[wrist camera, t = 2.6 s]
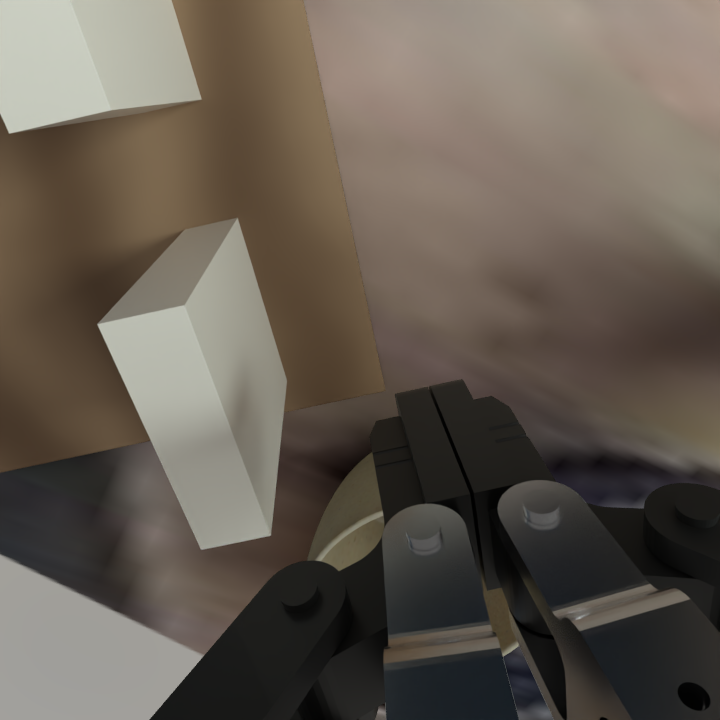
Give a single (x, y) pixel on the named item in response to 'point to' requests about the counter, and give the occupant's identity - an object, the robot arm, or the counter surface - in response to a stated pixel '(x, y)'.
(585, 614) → the robot arm
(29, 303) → the board
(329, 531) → the flower pot
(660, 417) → the counter surface
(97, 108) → the tile near
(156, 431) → the tile far
